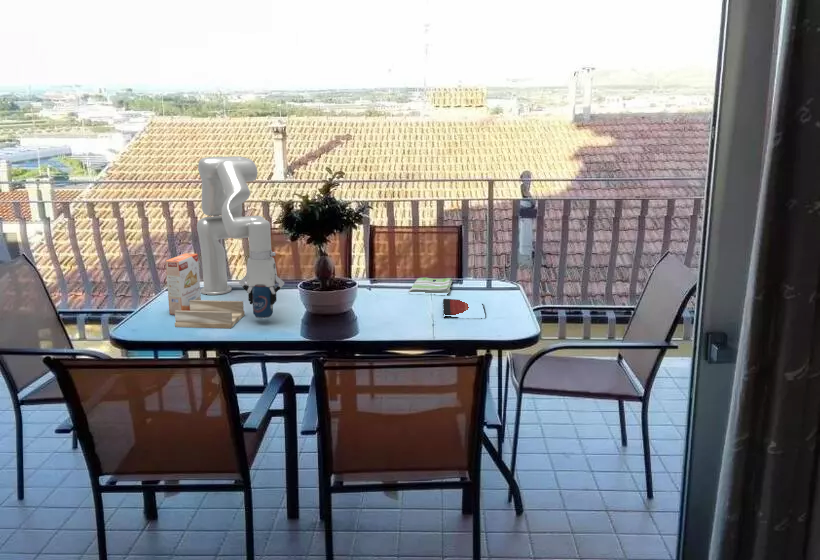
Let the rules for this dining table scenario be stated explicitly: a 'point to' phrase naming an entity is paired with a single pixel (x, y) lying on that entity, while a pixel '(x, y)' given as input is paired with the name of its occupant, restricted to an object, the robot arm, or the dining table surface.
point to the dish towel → (432, 285)
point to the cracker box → (182, 281)
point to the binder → (454, 306)
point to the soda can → (262, 301)
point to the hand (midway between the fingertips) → (262, 303)
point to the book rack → (210, 314)
